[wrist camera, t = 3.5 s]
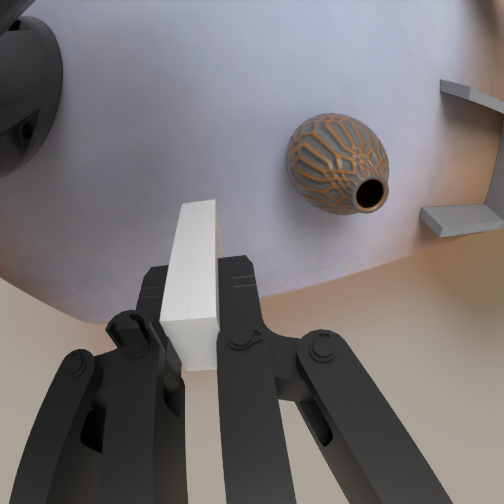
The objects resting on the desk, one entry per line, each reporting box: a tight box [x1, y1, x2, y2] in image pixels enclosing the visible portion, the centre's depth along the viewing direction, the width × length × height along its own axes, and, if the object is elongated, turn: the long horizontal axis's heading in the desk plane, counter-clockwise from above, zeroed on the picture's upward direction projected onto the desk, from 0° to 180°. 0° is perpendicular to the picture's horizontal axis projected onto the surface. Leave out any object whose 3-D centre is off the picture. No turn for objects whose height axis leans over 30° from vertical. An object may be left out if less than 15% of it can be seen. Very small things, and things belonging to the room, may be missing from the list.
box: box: [419, 80, 504, 238], centre depth 20 cm, size 14×15×4 cm
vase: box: [286, 113, 389, 215], centre depth 17 cm, size 7×7×9 cm
